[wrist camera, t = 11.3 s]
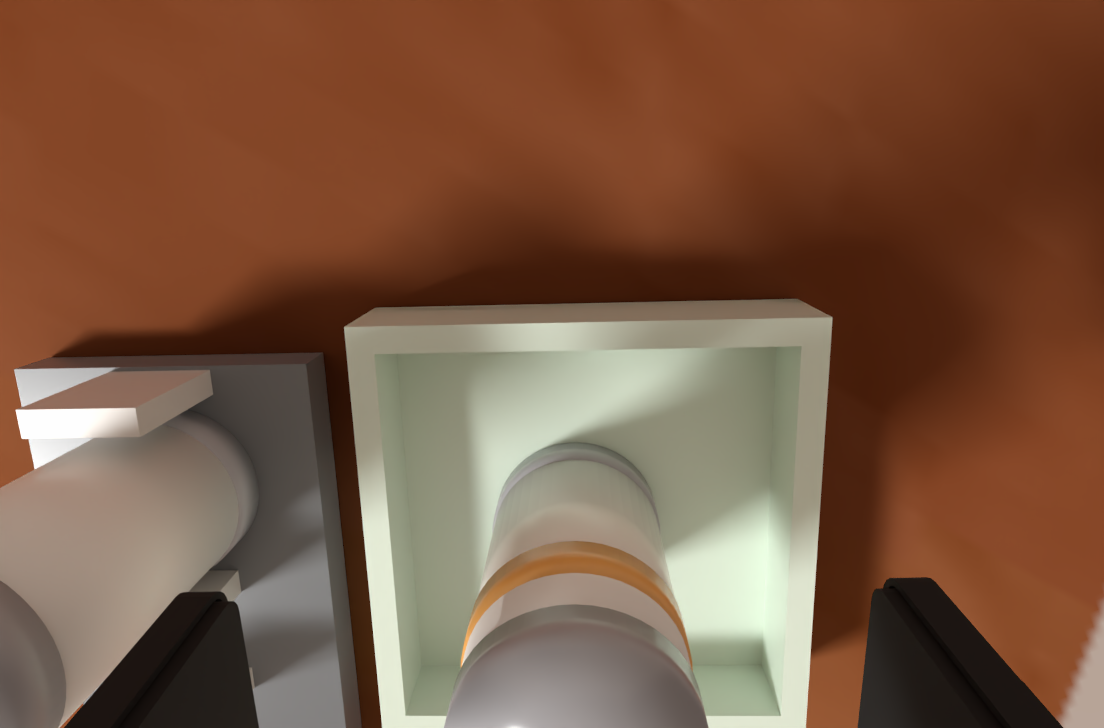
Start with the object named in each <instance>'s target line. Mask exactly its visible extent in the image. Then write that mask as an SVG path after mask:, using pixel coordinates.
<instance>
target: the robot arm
mask: <svg viewBox="0 0 1104 728" xmlns="http://www.w3.org/2000/svg"><path fill="white" fill-rule="evenodd" d="M64 728H259V724H258V718H257V712H256V706H255V701H254V695H253V689H252V683H251V677H250V671H249V665H248V659H247V653H246V647H245V641H244V636H243V630H242V624H241V618H240V612H239V608H238V605H237V604H236V602H234V601H228V600H227V597H226V596H225V594H224V593H223V592H221V591H213V592H183V593H180V594H179V595H177V596H176V597H175V598H174V599H173V601H172V602H171V603H170V604H169V605H168V606H167V608H166V609H165V610H164V611H163V612H162V613H161V615H160V616H159V617H158V618H157V619H156V621H155V622H154V623H153V624H152V625H151V626H150V628H149V629H148V630H147V631H146V632H145V633H144V635H143V636H142V637H141V638H140V639H139V640H138V642H137V643H136V644H135V645H134V646H133V648H132V649H131V650H130V651H129V652H128V653H127V655H126V656H125V657H124V658H123V659H122V660H121V662H120V663H119V664H118V665H117V666H116V668H115V669H114V670H113V671H112V672H111V673H110V675H109V676H108V677H107V678H106V679H105V680H104V682H103V683H102V684H101V685H100V686H99V687H98V689H97V690H96V691H95V692H94V693H93V695H92V696H91V697H90V698H89V699H88V700H87V702H86V703H85V704H84V705H83V706H82V707H81V709H80V710H79V711H78V712H77V713H76V714H75V716H74V717H73V718H72V719H71V720H70V722H69V723H68V724H67V725H66V726H65V727H64ZM858 728H1063V727H1062V726H1061V725H1060V723H1059V722H1058V721H1057V720H1056V719H1055V718H1054V717H1053V715H1052V714H1051V713H1050V712H1049V711H1048V710H1047V709H1046V707H1045V706H1044V705H1043V704H1042V703H1041V702H1040V701H1039V699H1038V698H1037V697H1036V696H1035V695H1034V694H1033V693H1032V691H1031V690H1030V689H1029V688H1028V687H1027V686H1026V685H1025V683H1024V682H1022V681H1021V680H1020V679H1019V678H1018V676H1017V675H1016V674H1015V673H1014V672H1013V671H1012V669H1011V668H1010V667H1009V666H1008V665H1007V664H1006V663H1005V661H1004V660H1003V659H1002V658H1001V657H1000V656H999V655H998V653H997V652H996V651H995V650H994V649H993V648H992V647H991V645H990V644H989V643H988V642H987V641H986V640H985V638H984V637H983V636H982V635H981V634H980V633H979V632H978V630H977V629H976V628H975V627H974V626H973V625H972V624H971V622H970V621H969V620H968V619H967V618H966V617H965V616H964V614H963V613H962V612H961V611H960V610H959V609H958V607H957V606H956V605H955V604H954V603H953V602H952V601H951V599H950V598H949V597H948V596H947V595H946V594H945V593H944V591H943V590H942V589H941V588H940V587H939V586H938V585H937V583H936V582H935V581H933V580H932V579H931V578H927V577H925V578H889V579H888V580H886V582H885V584H884V587H883V589H876V590H874V592H873V595H872V601H871V610H870V619H869V628H868V638H867V647H866V656H865V665H864V674H863V684H862V693H861V702H860V711H859V720H858Z"/></svg>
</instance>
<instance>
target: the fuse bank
mask: <svg viewBox="0 0 1104 728" xmlns="http://www.w3.org/2000/svg"><path fill="white" fill-rule="evenodd" d="M14 371H15V376H16V381H17V386H18V390H19V395H20V400H21V405H22V407H21V408H19V409H17V410H16V414H17V418H18V423H19V428H20V433H21V438H22V439H29V443H30V448H31V453H32V458H33V463H34V468H35V470H33V471H31V472H29V473H27V474H26V475H24V476H22V477H20V478H18V479H16V480H14V481H12V482H10V483H9V484H7V485H5V486H3V487H1V488H0V728H60V727H61V726H62V724H63V723H64V722H65V721H66V720H67V719H68V718H69V717H70V716H71V715H72V714H73V713H74V712H75V711H76V710H77V709H78V708H79V707H80V705H81V704H82V703H83V704H85V703H86V702H87V700H88V699H89V698H90V697H91V696H92V695H93V693H94V692H95V691H96V690H97V689H98V687H99V686H100V685H101V684H102V683H103V682H104V680H105V679H106V678H107V677H108V676H109V675H110V673H111V672H112V671H113V670H114V669H115V668H116V666H117V665H118V664H119V663H120V662H121V660H122V659H123V658H124V657H125V656H126V655H127V653H128V652H129V651H130V650H131V649H132V648H133V646H134V645H135V644H136V643H137V642H138V640H139V639H140V638H141V637H142V636H143V635H144V633H145V632H146V631H147V630H148V629H149V628H150V626H151V625H152V624H153V623H154V622H155V621H156V619H157V618H158V617H159V616H160V615H161V613H162V612H163V611H164V610H165V609H166V608H167V606H168V605H169V604H170V603H171V602H172V601H173V599H174V598H175V597H176V596H177V595H179V594H180V593H183V592H213V591H221V592H223V593H224V594H225V596H226V597H227V600H228V601H234V602H236V604H237V605H238V608H239V612H240V618H241V624H242V630H243V636H244V641H245V647H246V653H247V659H248V665H249V671H250V677H251V683H252V689H253V695H254V701H255V706H256V712H257V718H258V724H259V728H362V723H361V714H360V704H359V694H358V685H357V675H356V665H355V655H354V646H353V636H352V626H351V617H350V607H349V597H348V588H347V578H346V568H345V558H344V549H343V539H342V529H341V520H340V510H339V500H338V491H337V481H336V471H335V461H334V452H333V442H332V432H331V423H330V413H329V403H328V394H327V384H326V374H325V364H324V355H323V352H321V353H267V354H213V355H160V356H106V357H52V358H47V359H44V360H41V361H38V362H35V363H31V364H28V365H25V366H22V367H19V368H16V369H14Z"/></svg>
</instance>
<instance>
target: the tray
mask: <svg viewBox="0 0 1104 728" xmlns="http://www.w3.org/2000/svg"><path fill="white" fill-rule="evenodd" d="M832 319H833V317H831V316H829V315H827V314H825V313H823V312H822V311H820V310H818V309H816V308H814V307H812V306H810V305H808V304H806V303H804V302H803V301H801V300H799V299H761V300H713V301H665V302H618V303H570V304H522V305H474V306H426V307H378V308H374V309H372V310H371V311H369V312H367V313H366V314H364V315H363V316H361V317H359V318H358V319H356V320H354V321H353V322H351V323H350V324H348V325H346V326H345V327H344V333H345V344H346V354H347V364H348V375H349V385H350V396H351V406H352V417H353V427H354V438H355V448H356V459H357V469H358V480H359V490H360V501H361V511H362V522H363V532H364V543H365V553H366V564H367V574H368V585H369V595H370V606H371V616H372V627H373V637H374V647H375V658H376V668H377V679H378V689H379V700H380V710H381V721H382V728H444V725H445V721H446V717H447V713H448V708H449V704H450V700H451V696H452V692H453V687H454V684H455V681H456V678H457V675H458V673H459V671H460V669H461V656H462V651H463V646H464V641H465V637H466V633H467V629H468V625H469V620H470V616H471V613H472V610H473V607H474V604H475V601H476V599H477V597H478V594H479V590H480V585H481V581H482V577H483V572H484V568H485V564H486V560H487V555H488V551H489V547H490V542H491V538H492V530H493V521H494V516H495V512H496V507H497V503H498V499H499V496H500V493H501V490H502V488H503V485H504V483H505V481H506V480H507V478H508V477H509V475H510V474H511V472H512V471H513V470H514V469H515V468H516V467H517V466H518V465H519V464H520V463H521V462H522V461H523V460H525V459H526V458H527V457H529V456H530V455H532V454H533V453H535V452H537V451H539V450H541V449H544V448H546V447H549V446H552V445H556V444H562V443H571V442H580V443H590V444H595V445H599V446H602V447H605V448H608V449H610V450H612V451H615V452H617V453H618V454H620V455H621V456H623V457H625V458H626V459H627V460H628V461H630V462H631V463H632V464H633V465H634V466H635V467H636V468H637V469H638V470H639V471H640V472H641V474H642V475H643V477H644V478H645V479H646V481H647V483H648V485H649V487H650V489H651V492H652V495H653V497H654V501H655V506H656V510H657V514H658V519H659V524H660V536H661V540H662V545H663V549H664V553H665V558H666V562H667V566H668V571H669V575H670V579H671V583H672V588H673V592H674V596H675V599H676V601H677V603H678V606H679V609H680V612H681V614H682V619H683V623H684V627H685V631H686V635H687V639H688V644H689V648H690V653H691V658H692V667H693V673H694V675H695V678H696V681H697V684H698V687H699V690H700V694H701V698H702V702H703V706H704V711H705V715H706V719H707V723H708V727H709V728H806V715H807V700H808V685H809V670H810V654H811V639H812V624H813V609H814V593H815V578H816V563H817V548H818V532H819V517H820V502H821V487H822V471H823V456H824V441H825V426H826V411H827V395H828V380H829V365H830V350H831V334H832Z"/></svg>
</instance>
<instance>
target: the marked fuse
mask: <svg viewBox="0 0 1104 728" xmlns="http://www.w3.org/2000/svg"><path fill="white" fill-rule="evenodd" d="M444 728H709V727H708V723H707V719H706V715H705V711H704V706H703V702H702V698H701V694H700V690H699V687H698V684H697V681H696V678H695V675H694V673H693V667H692V658H691V653H690V648H689V644H688V639H687V635H686V631H685V627H684V623H683V619H682V614H681V612H680V609H679V606H678V603H677V601H676V599H675V596H674V592H673V588H672V583H671V579H670V575H669V571H668V566H667V562H666V558H665V553H664V549H663V545H662V540H661V536H660V524H659V519H658V514H657V510H656V506H655V501H654V497H653V495H652V492H651V489H650V487H649V485H648V483H647V481H646V479H645V478H644V477H643V475H642V474H641V472H640V471H639V470H638V469H637V468H636V467H635V466H634V465H633V464H632V463H631V462H630V461H628V460H627V459H626V458H625V457H623V456H621V455H620V454H618V453H617V452H615V451H612V450H610V449H608V448H605V447H602V446H599V445H595V444H590V443H580V442H571V443H562V444H556V445H552V446H549V447H546V448H544V449H541V450H539V451H537V452H535V453H533V454H532V455H530V456H529V457H527V458H526V459H525V460H523V461H522V462H521V463H520V464H519V465H518V466H517V467H516V468H515V469H514V470H513V471H512V472H511V474H510V475H509V477H508V478H507V480H506V481H505V483H504V485H503V488H502V490H501V493H500V496H499V499H498V503H497V507H496V512H495V516H494V521H493V530H492V538H491V542H490V547H489V551H488V555H487V560H486V564H485V568H484V572H483V577H482V581H481V585H480V590H479V594H478V597H477V599H476V601H475V604H474V607H473V610H472V613H471V616H470V620H469V625H468V629H467V633H466V637H465V641H464V646H463V651H462V656H461V669H460V671H459V673H458V675H457V678H456V681H455V684H454V687H453V692H452V696H451V700H450V704H449V708H448V713H447V717H446V721H445V725H444Z"/></svg>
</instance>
